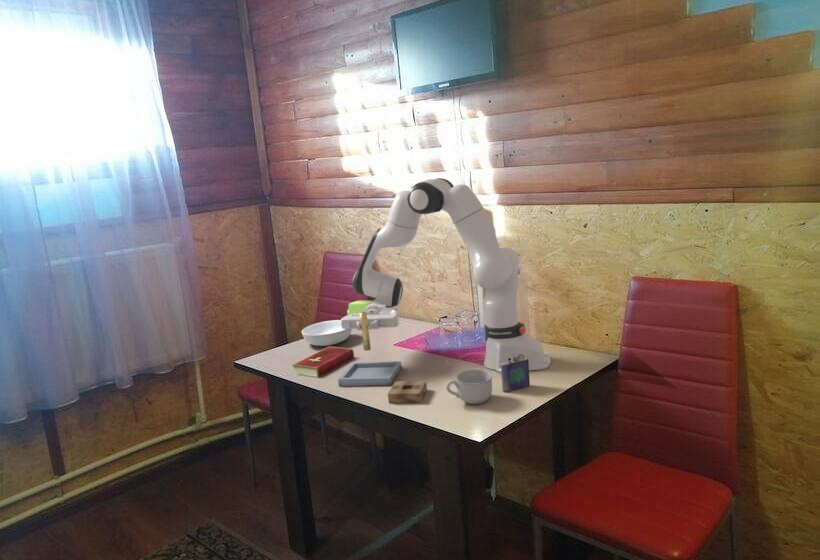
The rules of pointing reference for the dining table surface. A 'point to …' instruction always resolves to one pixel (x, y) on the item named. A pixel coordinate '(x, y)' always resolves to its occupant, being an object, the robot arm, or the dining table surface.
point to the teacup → (472, 385)
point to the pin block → (407, 392)
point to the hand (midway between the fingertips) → (363, 327)
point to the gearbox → (357, 306)
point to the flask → (515, 374)
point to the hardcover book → (323, 361)
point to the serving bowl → (325, 333)
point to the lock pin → (365, 331)
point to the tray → (370, 373)
